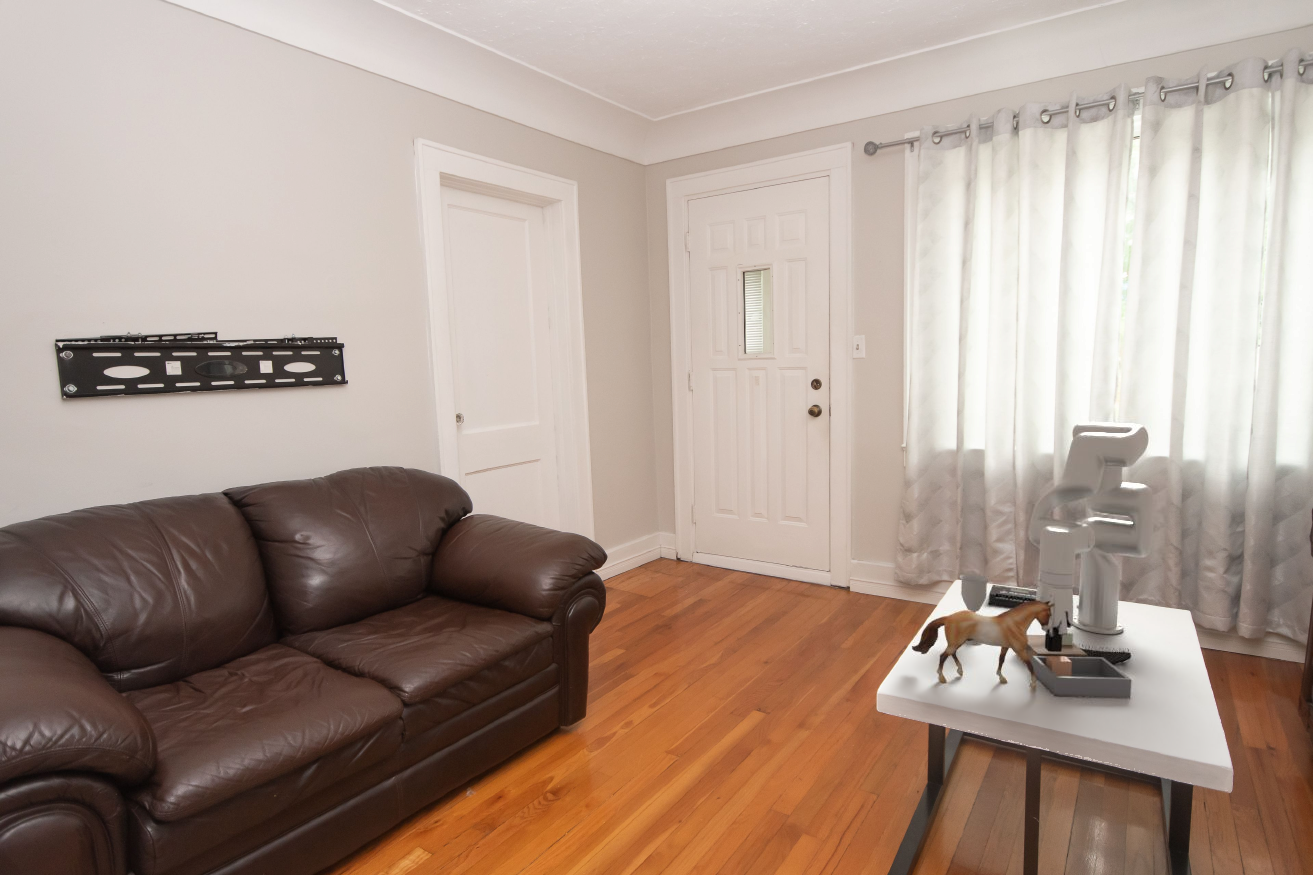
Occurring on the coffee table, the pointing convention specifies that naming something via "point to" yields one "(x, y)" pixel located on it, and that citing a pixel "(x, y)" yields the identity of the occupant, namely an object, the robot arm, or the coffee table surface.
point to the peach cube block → (1059, 665)
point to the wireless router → (1010, 596)
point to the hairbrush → (1108, 655)
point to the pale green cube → (1067, 638)
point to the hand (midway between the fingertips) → (1053, 650)
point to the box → (1084, 678)
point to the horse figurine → (987, 634)
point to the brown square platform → (1038, 649)
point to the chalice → (973, 594)
